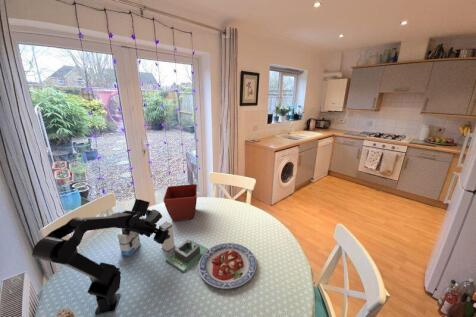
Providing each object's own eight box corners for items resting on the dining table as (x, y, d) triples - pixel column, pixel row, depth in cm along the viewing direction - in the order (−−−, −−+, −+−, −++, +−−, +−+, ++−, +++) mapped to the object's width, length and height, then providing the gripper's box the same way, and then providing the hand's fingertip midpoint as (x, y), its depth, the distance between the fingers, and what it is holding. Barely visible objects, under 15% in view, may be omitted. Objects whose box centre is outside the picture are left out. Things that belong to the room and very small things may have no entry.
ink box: (129, 256, 99) (125, 235, 95) (121, 254, 100) (116, 234, 96) (141, 244, 107) (138, 224, 103) (133, 242, 108) (129, 223, 104)
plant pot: (170, 208, 140) (167, 186, 135) (198, 205, 143) (197, 183, 138) (166, 225, 122) (162, 199, 117) (198, 221, 125) (196, 196, 120)
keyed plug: (167, 251, 101) (164, 229, 98) (161, 247, 104) (158, 225, 100) (175, 245, 106) (173, 223, 102) (170, 241, 108) (167, 220, 104)
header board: (183, 272, 89) (182, 264, 88) (165, 260, 96) (164, 252, 94) (208, 250, 102) (207, 242, 101) (191, 241, 108) (190, 234, 107)
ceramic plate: (194, 254, 100) (194, 249, 99) (243, 241, 109) (243, 236, 108) (205, 301, 77) (205, 295, 76) (266, 280, 86) (266, 275, 85)
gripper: (162, 215, 86) (184, 224, 99) (137, 202, 96) (160, 212, 108) (148, 241, 83) (173, 247, 95) (123, 225, 93) (149, 232, 105)
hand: (163, 233), depth 101 cm, fingers open, 9 cm apart
